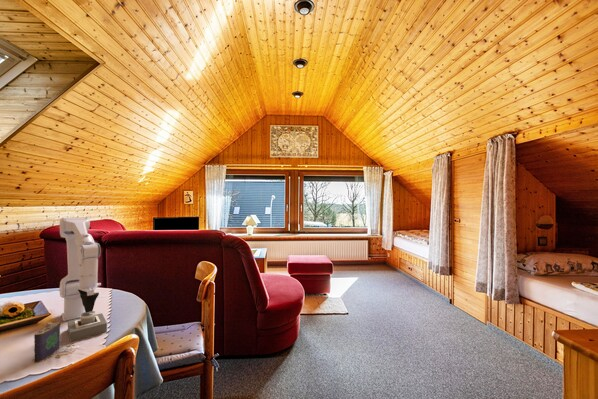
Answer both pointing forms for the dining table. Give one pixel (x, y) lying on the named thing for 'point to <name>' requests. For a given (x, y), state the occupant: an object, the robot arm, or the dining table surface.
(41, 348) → the flask
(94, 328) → the grey frame block
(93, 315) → the lens
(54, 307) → the dining table surface
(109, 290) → the dining table surface
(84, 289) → the robot arm
